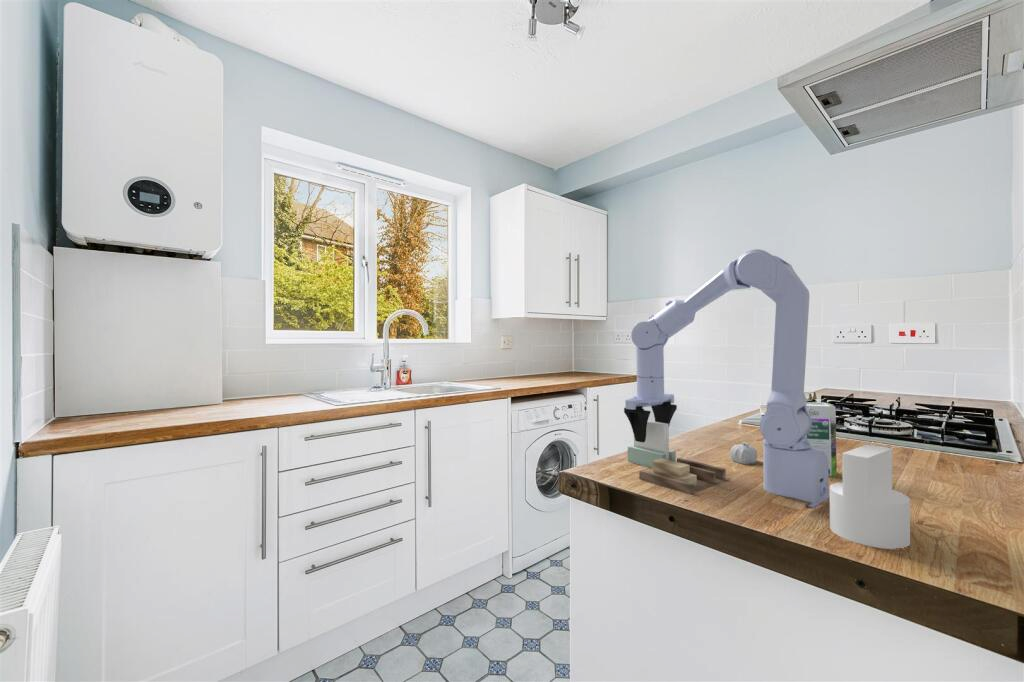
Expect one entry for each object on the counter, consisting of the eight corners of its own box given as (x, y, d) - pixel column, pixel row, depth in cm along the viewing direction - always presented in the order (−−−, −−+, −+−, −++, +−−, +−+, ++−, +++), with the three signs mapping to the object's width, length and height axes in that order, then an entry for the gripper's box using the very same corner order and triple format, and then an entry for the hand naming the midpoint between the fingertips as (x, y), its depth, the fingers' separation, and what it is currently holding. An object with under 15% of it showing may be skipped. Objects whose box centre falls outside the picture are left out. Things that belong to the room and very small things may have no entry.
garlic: (760, 469, 95) (760, 445, 95) (732, 467, 97) (732, 443, 97) (754, 462, 101) (754, 439, 101) (728, 460, 103) (728, 437, 102)
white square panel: (669, 465, 95) (668, 423, 95) (664, 467, 94) (664, 424, 94) (638, 458, 101) (637, 418, 101) (634, 459, 101) (633, 419, 101)
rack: (731, 482, 87) (731, 468, 87) (690, 498, 79) (690, 482, 79) (680, 469, 96) (680, 456, 96) (639, 482, 88) (639, 468, 88)
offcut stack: (696, 484, 83) (696, 465, 83) (685, 488, 81) (685, 469, 81) (663, 475, 89) (663, 457, 89) (652, 479, 87) (652, 460, 87)
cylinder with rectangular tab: (845, 516, 70) (844, 440, 70) (920, 538, 62) (919, 452, 62) (818, 530, 65) (817, 448, 65) (896, 555, 58) (895, 463, 58)
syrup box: (804, 476, 90) (804, 404, 90) (793, 468, 96) (793, 400, 96) (837, 478, 89) (836, 405, 88) (824, 469, 94) (823, 401, 94)
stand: (676, 469, 96) (675, 451, 96) (661, 474, 93) (661, 454, 93) (641, 460, 103) (641, 443, 103) (627, 464, 100) (627, 446, 100)
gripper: (655, 374, 105) (656, 431, 105) (613, 378, 97) (614, 440, 97) (682, 375, 99) (682, 436, 100) (640, 380, 91) (641, 446, 91)
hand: (651, 438), depth 98 cm, fingers open, 7 cm apart
